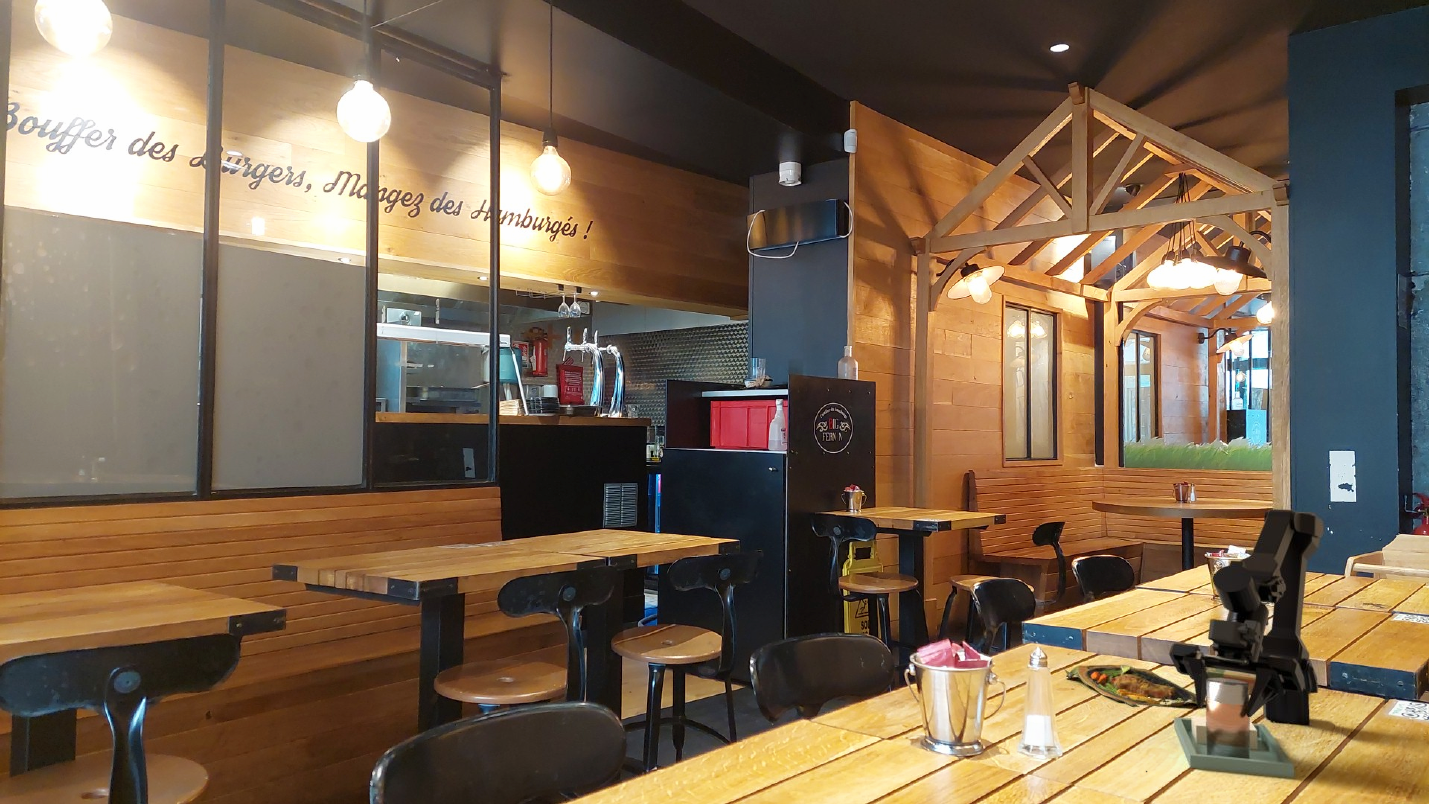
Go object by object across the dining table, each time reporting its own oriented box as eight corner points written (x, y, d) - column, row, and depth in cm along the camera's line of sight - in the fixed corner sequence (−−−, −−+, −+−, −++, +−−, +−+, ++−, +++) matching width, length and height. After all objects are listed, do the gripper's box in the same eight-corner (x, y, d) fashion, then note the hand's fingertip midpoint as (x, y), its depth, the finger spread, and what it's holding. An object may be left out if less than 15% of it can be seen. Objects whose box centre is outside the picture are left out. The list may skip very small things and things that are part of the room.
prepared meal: (1219, 690, 184) (1133, 692, 182) (1220, 709, 184) (1134, 711, 181) (1135, 663, 212) (1059, 664, 209) (1135, 679, 212) (1059, 681, 209)
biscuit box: (1250, 738, 162) (1250, 720, 162) (1257, 749, 156) (1257, 730, 157) (1191, 733, 165) (1191, 715, 165) (1196, 743, 159) (1196, 725, 160)
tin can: (1231, 752, 155) (1231, 677, 156) (1259, 764, 149) (1258, 686, 150) (1197, 753, 154) (1197, 677, 155) (1223, 765, 148) (1223, 687, 149)
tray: (1264, 739, 164) (1264, 724, 164) (1294, 782, 143) (1293, 765, 143) (1174, 731, 168) (1174, 717, 168) (1190, 771, 148) (1190, 755, 148)
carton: (1282, 702, 189) (1281, 680, 189) (1193, 689, 199) (1192, 668, 199) (1288, 693, 195) (1288, 671, 195) (1202, 681, 205) (1202, 661, 206)
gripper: (1171, 594, 162) (1147, 671, 154) (1296, 606, 148) (1277, 692, 140) (1190, 634, 167) (1167, 710, 159) (1312, 650, 154) (1294, 734, 145)
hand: (1223, 711), depth 151 cm, fingers open, 7 cm apart
